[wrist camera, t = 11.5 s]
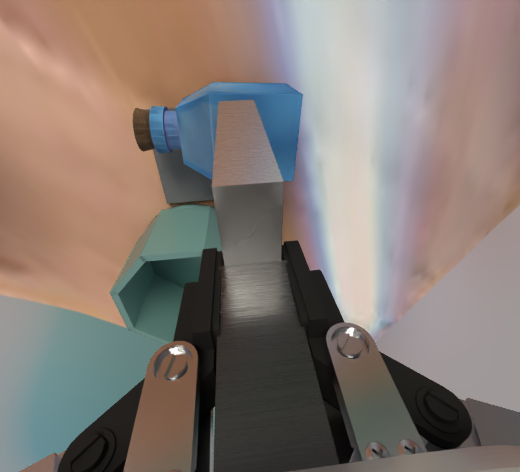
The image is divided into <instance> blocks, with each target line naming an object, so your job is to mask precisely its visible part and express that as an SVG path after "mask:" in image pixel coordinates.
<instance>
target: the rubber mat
mask: <svg viewBox="0 0 520 472" xmlns="http://www.w3.org/2000/svg"><path fill="white" fill-rule="evenodd" d="M168 110H169V111H176V109H175V108H168ZM147 111H150V109H148V110H147ZM153 151H154V155H155V159H156V163H157V167H158V170H159V174H160V178H161V182H162V186H163V190H164V193H165V197H166V201H167V204H168V203H180V202H193V201H205V200H214V198H213V192H212V179H210V178H208V177H206V176H205V175H203V174H201V173H199V172H198V171H196V170H194V169H192V168H191V167H189V166H187V165H185V164H184V163H183V156H182V149H173V151H172V153H158V152H157V151H156V149H153Z"/></svg>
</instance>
